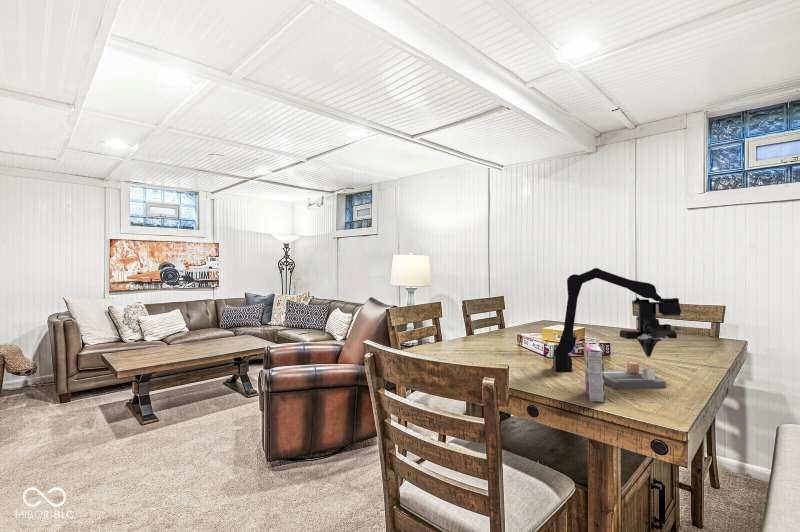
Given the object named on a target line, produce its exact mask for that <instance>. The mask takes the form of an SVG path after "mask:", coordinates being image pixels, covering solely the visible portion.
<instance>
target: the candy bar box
mask: <svg viewBox="0 0 800 532" xmlns="http://www.w3.org/2000/svg"><path fill="white" fill-rule="evenodd" d="M601 347H602V346H600V344H597V343H596V344H595V343H584V344H583V357H584V381H585V393H586V396H587V399H588V402H590V401H593V402H592V403H601V404H602V403H604V404H605V403H606V398H605V397H606V393H605V383H604V371H605V370H604V367H605V366H604V365H605V364H604V351H603V349H602V348H601Z"/></svg>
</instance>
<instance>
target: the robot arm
mask: <svg viewBox="0 0 800 532" xmlns="http://www.w3.org/2000/svg"><path fill="white" fill-rule="evenodd" d="M595 279H598V280H602V281H605V282H606V283H607V282H608V283H610V284H613V285H617V286H619V287H622V288H624V289H627V290H629V291H631V292H633V294H637V295H638V296H640V297H642V299H641V298H639V297H638V296H637V297H636V298H635V299H634V300H633V301H632V304H636V305H638V306H637V307H638V309H637V310H638V317H636V321H638V327H637V328H636V330H633V329H621V330H620V331H619V338H622V339H626V340H637V341H638V343H639V345H640V346H641V348H642V350H643V352H644V354H645V356H646V357H647V358H651V356H652V354H653V351H654V348H655V347H656V345H657V343H658V342H661V341H662V340H663V339H666V338H667V339H678V333H677V331H675V330H674V329H673V328H672V325H671V324H668V323H665V324H660V319H659V318H657V314H660V315H661V317H681V315H682V313H681V312H682V311H681V310H682V309H681V308H682V307H681V305H680V300H679V299H680V298H677V297H672V298H669V297H668V298H663V297H662V296H660V295H659V293H658V292H657V288H656V286H655V285H654V284H652V283H649V282H645V281H638V280H634V279H629V278H627V277H623V276H621V275H617V274H615V273H611V272H609V271H605V270H602V269H600V268H599V267H594V268H592V269H590V270H588V271H586V272H583V273H580V274H577V273H575V274H572V275H569V276H568V278H567V280H566V285H567V287H566V288H567V302H566V303H567V304H566V310H565V319H564V325H563V330H562V333H561V336H560V339H559V342H558V345H556V346H555V347H554V349H553V351H552V353H553V354H552V366H551V369H552V370H554V371H555V372H560V373H561V372H563V373H564V372H573V359H572V358H571V354H570V353H571V352H573V350H574V348H576V347H577V338H578V334H575V333H574V328H575V320H576V314H577V305H578V298H579V295H580V292H581V289H582V286H583V284H585V283H588V282H590V281H592V280H595ZM643 298H644V299H643ZM649 299H652V300H653V301H650V300H649Z"/></svg>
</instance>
